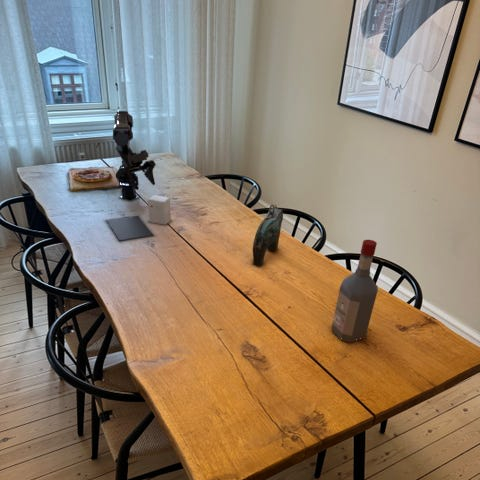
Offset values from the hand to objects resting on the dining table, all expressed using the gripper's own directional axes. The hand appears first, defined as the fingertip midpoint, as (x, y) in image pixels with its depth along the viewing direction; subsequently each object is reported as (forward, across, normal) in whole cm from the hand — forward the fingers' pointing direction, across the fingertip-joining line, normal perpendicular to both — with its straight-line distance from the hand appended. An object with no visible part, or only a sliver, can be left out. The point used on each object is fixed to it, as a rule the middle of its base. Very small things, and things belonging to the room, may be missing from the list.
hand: (146, 187), depth 194 cm
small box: (+15, 0, +4) cm, 16 cm away
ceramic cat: (+53, +6, -34) cm, 63 cm away
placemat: (+12, -14, +7) cm, 20 cm away
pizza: (-31, +14, +50) cm, 60 cm away
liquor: (+87, -19, -68) cm, 112 cm away
